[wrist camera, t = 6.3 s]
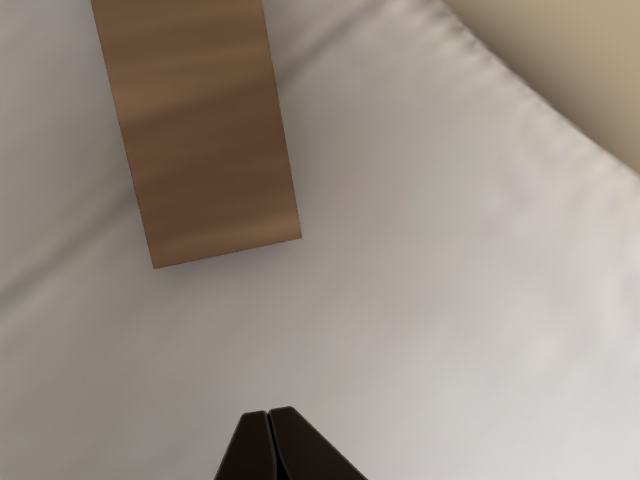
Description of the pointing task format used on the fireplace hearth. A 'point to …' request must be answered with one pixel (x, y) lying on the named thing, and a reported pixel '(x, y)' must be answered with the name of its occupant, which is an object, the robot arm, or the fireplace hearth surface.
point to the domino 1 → (199, 124)
